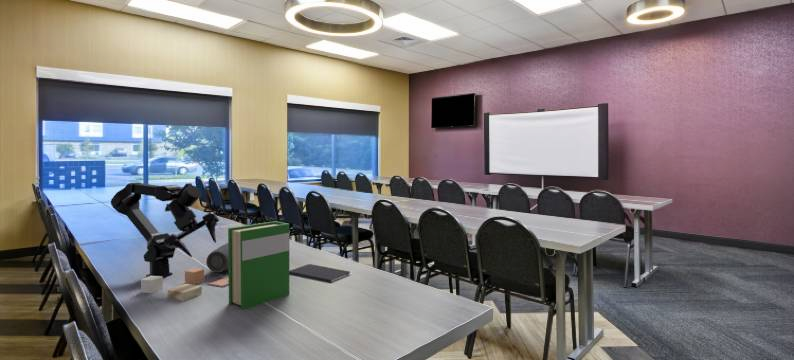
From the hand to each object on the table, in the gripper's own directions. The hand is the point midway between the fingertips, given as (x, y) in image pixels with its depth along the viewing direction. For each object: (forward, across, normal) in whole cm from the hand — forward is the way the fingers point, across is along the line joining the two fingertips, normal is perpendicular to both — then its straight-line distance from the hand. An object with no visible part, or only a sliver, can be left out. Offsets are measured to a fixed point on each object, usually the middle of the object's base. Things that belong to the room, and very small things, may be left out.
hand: (203, 249), depth 150 cm
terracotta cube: (+7, -9, +7) cm, 13 cm away
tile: (+13, -1, +5) cm, 14 cm away
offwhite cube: (+4, -20, -1) cm, 20 cm away
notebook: (+30, +29, +14) cm, 44 cm away
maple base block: (+13, -11, -7) cm, 18 cm away
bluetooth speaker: (+5, +1, +24) cm, 25 cm away
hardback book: (+28, +9, -12) cm, 32 cm away
